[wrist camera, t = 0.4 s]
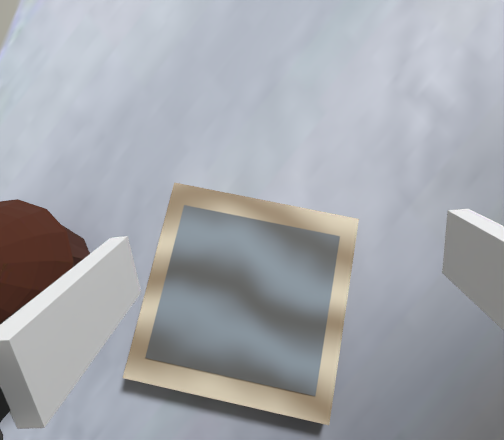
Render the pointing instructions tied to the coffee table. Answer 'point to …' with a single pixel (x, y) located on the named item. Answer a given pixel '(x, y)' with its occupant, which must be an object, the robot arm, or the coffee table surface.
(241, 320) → the gold framed mirror
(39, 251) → the muffin
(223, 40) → the coffee table surface
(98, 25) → the coffee table surface
